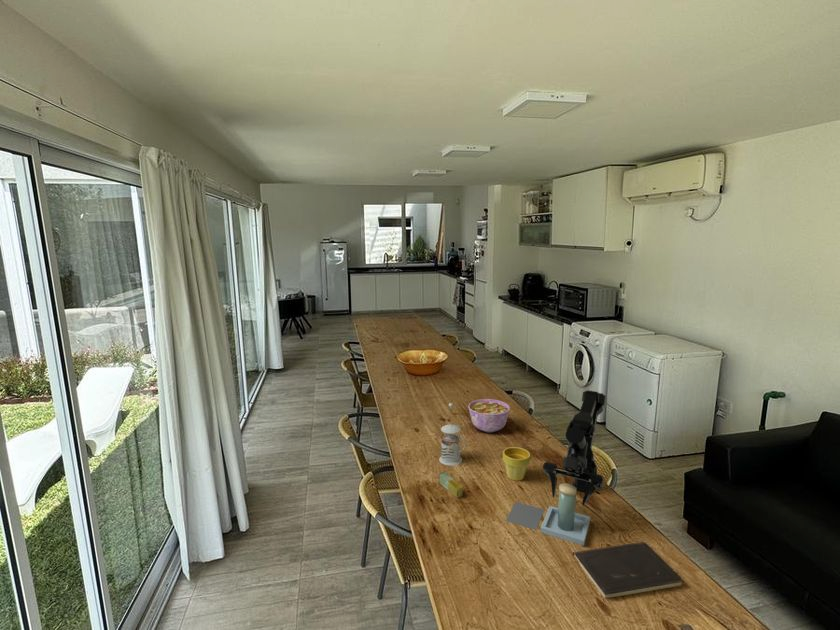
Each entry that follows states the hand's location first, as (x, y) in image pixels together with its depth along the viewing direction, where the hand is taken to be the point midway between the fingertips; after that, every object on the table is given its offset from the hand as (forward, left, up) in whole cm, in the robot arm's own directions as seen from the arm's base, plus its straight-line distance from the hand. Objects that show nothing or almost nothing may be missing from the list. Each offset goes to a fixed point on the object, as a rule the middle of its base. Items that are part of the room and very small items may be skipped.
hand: (567, 501), depth 141 cm
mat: (+2, -13, -8) cm, 16 cm away
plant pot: (-21, -23, -9) cm, 33 cm away
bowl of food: (-57, -47, -9) cm, 75 cm away
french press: (-21, -50, -9) cm, 55 cm away
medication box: (-1, -42, -9) cm, 43 cm away
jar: (+2, 0, -8) cm, 8 cm away
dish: (+2, 0, -8) cm, 9 cm away
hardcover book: (+13, +18, -9) cm, 24 cm away
